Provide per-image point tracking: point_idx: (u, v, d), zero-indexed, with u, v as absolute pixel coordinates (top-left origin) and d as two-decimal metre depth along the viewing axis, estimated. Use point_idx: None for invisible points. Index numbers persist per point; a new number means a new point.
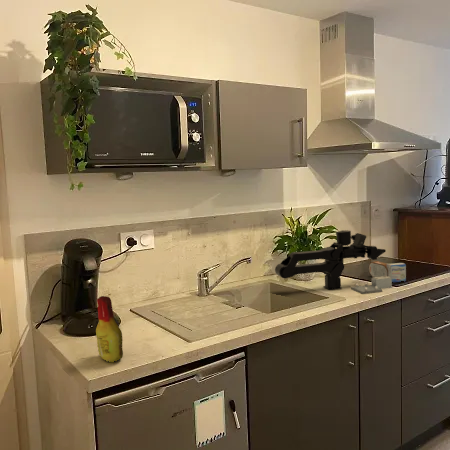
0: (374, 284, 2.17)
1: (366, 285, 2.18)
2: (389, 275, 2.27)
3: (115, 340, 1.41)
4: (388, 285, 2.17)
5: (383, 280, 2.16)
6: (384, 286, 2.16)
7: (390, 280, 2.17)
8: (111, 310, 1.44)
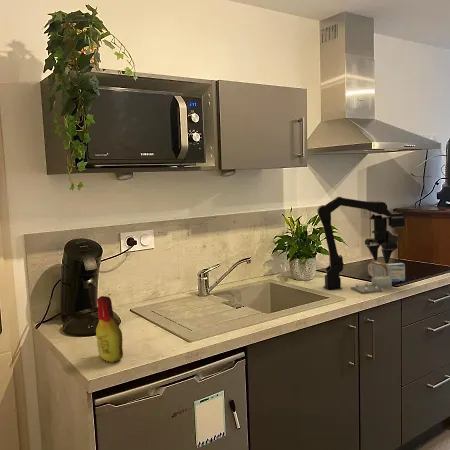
0: (374, 284, 2.17)
1: (366, 285, 2.18)
2: (388, 275, 2.27)
3: (115, 340, 1.41)
4: (388, 285, 2.17)
5: (383, 280, 2.16)
6: (384, 286, 2.16)
7: (390, 280, 2.17)
8: (111, 310, 1.44)
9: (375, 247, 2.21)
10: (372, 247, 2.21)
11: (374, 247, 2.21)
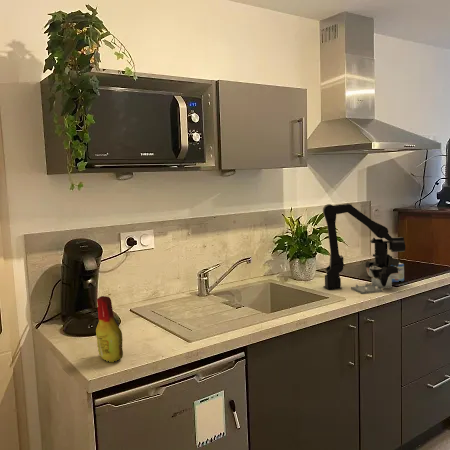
0: (374, 284, 2.17)
1: (366, 285, 2.18)
2: None
3: (115, 340, 1.41)
4: (388, 285, 2.17)
5: None
6: (384, 286, 2.16)
7: (390, 280, 2.17)
8: (111, 310, 1.44)
9: (378, 271, 2.20)
10: (375, 270, 2.20)
11: (377, 271, 2.20)
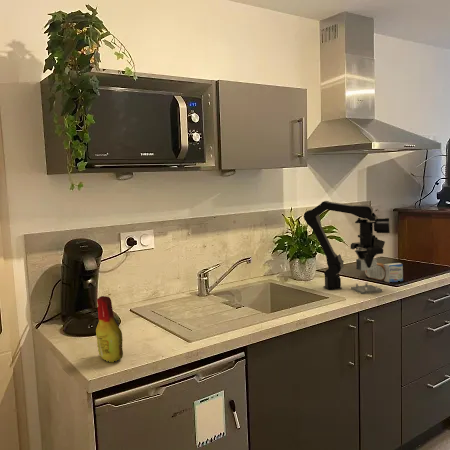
0: (359, 265, 2.12)
1: (366, 285, 2.18)
2: (387, 275, 2.27)
3: (115, 340, 1.41)
4: (373, 267, 2.12)
5: None
6: None
7: (375, 261, 2.12)
8: (111, 310, 1.44)
9: (363, 252, 2.15)
10: (360, 252, 2.15)
11: (362, 252, 2.15)
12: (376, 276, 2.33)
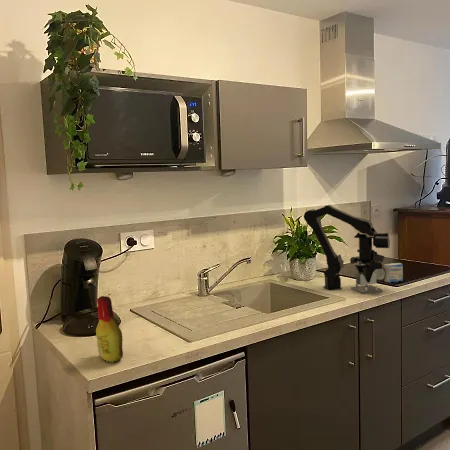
0: (358, 280, 2.12)
1: (366, 285, 2.18)
2: (387, 275, 2.26)
3: (115, 340, 1.41)
4: (373, 281, 2.12)
5: None
6: (368, 282, 2.12)
7: (375, 276, 2.12)
8: (111, 310, 1.44)
9: (363, 267, 2.16)
10: (360, 266, 2.15)
11: (362, 267, 2.16)
12: (376, 276, 2.33)
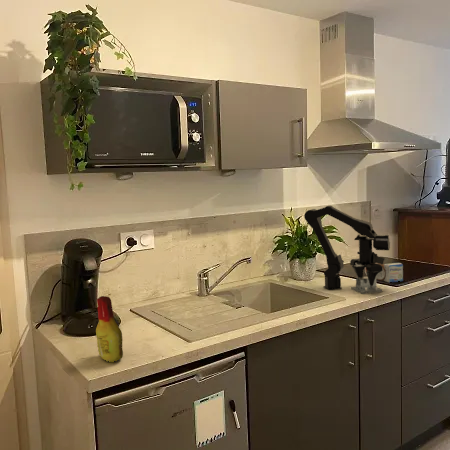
0: (358, 284, 2.13)
1: None
2: (387, 275, 2.27)
3: (115, 340, 1.41)
4: (373, 286, 2.13)
5: (368, 280, 2.12)
6: (369, 286, 2.12)
7: (375, 280, 2.12)
8: (111, 310, 1.44)
9: (360, 268, 2.18)
10: (357, 267, 2.18)
11: (359, 268, 2.18)
12: (376, 276, 2.33)
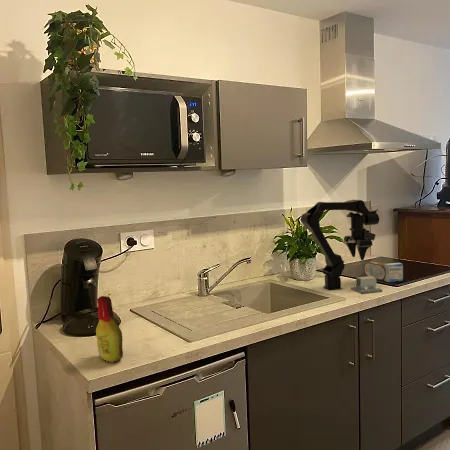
0: (358, 284, 2.13)
1: None
2: (387, 275, 2.27)
3: (115, 340, 1.41)
4: (373, 286, 2.13)
5: (368, 280, 2.12)
6: (369, 286, 2.12)
7: (375, 280, 2.12)
8: (111, 310, 1.44)
9: (353, 244, 2.28)
10: (350, 244, 2.28)
11: (352, 244, 2.28)
12: (376, 276, 2.34)
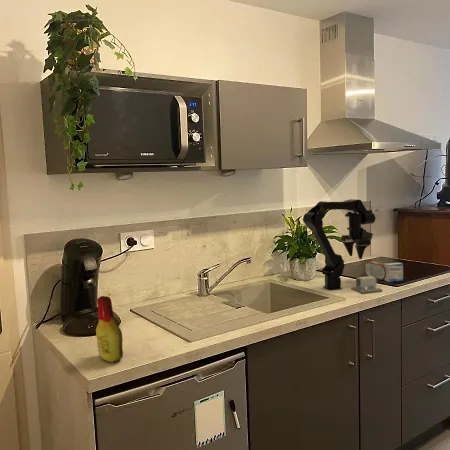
0: (358, 284, 2.13)
1: None
2: (387, 275, 2.28)
3: (115, 340, 1.41)
4: (373, 286, 2.13)
5: (368, 280, 2.12)
6: (369, 286, 2.12)
7: (375, 280, 2.12)
8: (111, 310, 1.44)
9: (350, 243, 2.30)
10: (347, 243, 2.30)
11: (349, 243, 2.30)
12: (376, 275, 2.35)
